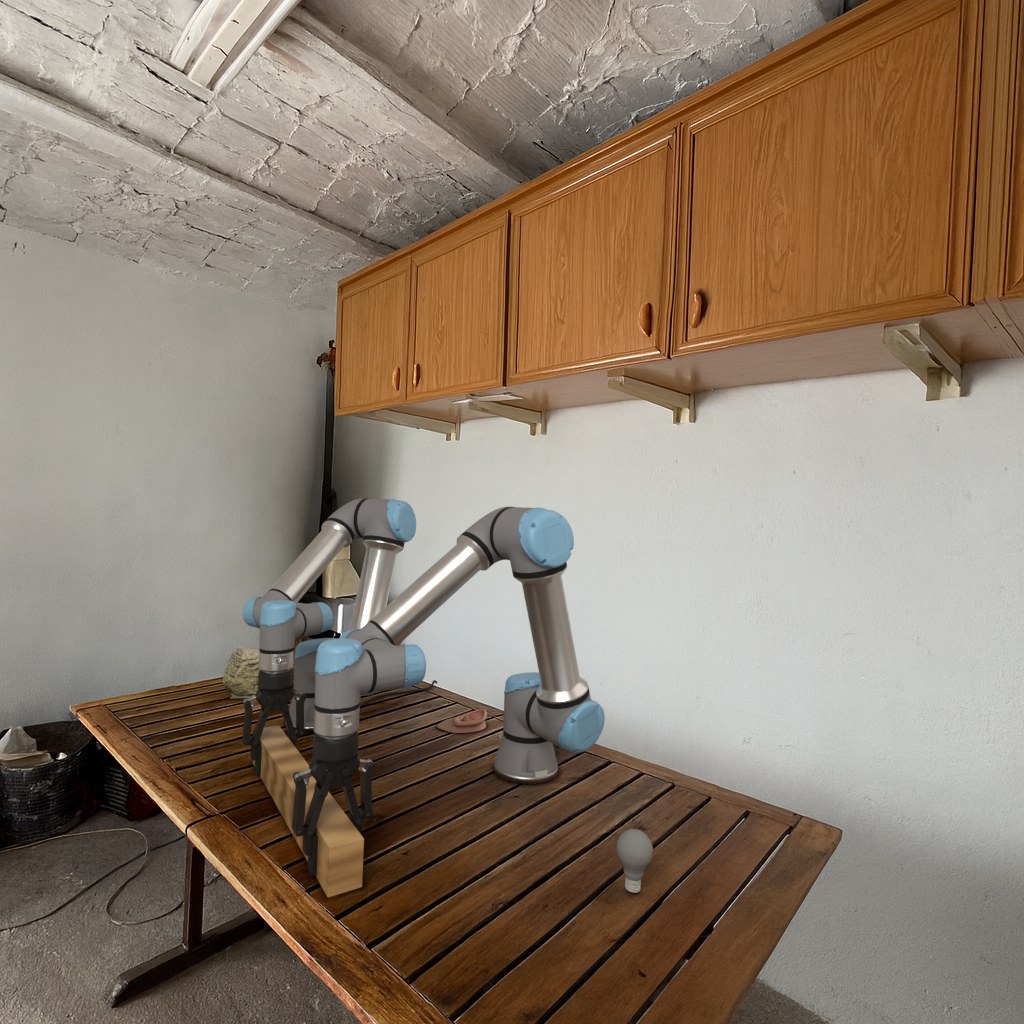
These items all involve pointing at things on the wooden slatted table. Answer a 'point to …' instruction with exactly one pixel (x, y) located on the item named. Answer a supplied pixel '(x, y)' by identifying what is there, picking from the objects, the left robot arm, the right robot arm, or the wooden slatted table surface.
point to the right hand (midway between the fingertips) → (331, 865)
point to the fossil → (242, 673)
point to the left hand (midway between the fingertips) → (272, 770)
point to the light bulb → (634, 857)
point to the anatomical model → (465, 722)
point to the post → (333, 828)
